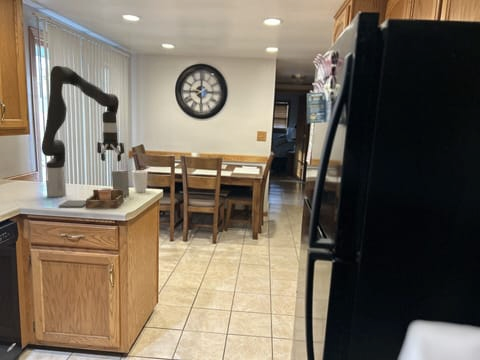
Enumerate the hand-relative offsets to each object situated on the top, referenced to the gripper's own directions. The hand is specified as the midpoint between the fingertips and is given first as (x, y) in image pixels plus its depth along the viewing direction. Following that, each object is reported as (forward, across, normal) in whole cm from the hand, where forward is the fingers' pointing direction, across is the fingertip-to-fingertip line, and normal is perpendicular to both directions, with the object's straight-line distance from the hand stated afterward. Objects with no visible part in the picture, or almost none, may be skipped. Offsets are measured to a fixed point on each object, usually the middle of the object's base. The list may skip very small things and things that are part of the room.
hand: (111, 161), depth 189 cm
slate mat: (+23, -18, -8) cm, 30 cm away
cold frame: (+23, -2, -6) cm, 24 cm away
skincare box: (+24, -2, +17) cm, 29 cm away
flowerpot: (+23, -2, -6) cm, 24 cm away
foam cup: (+24, +5, +32) cm, 40 cm away
